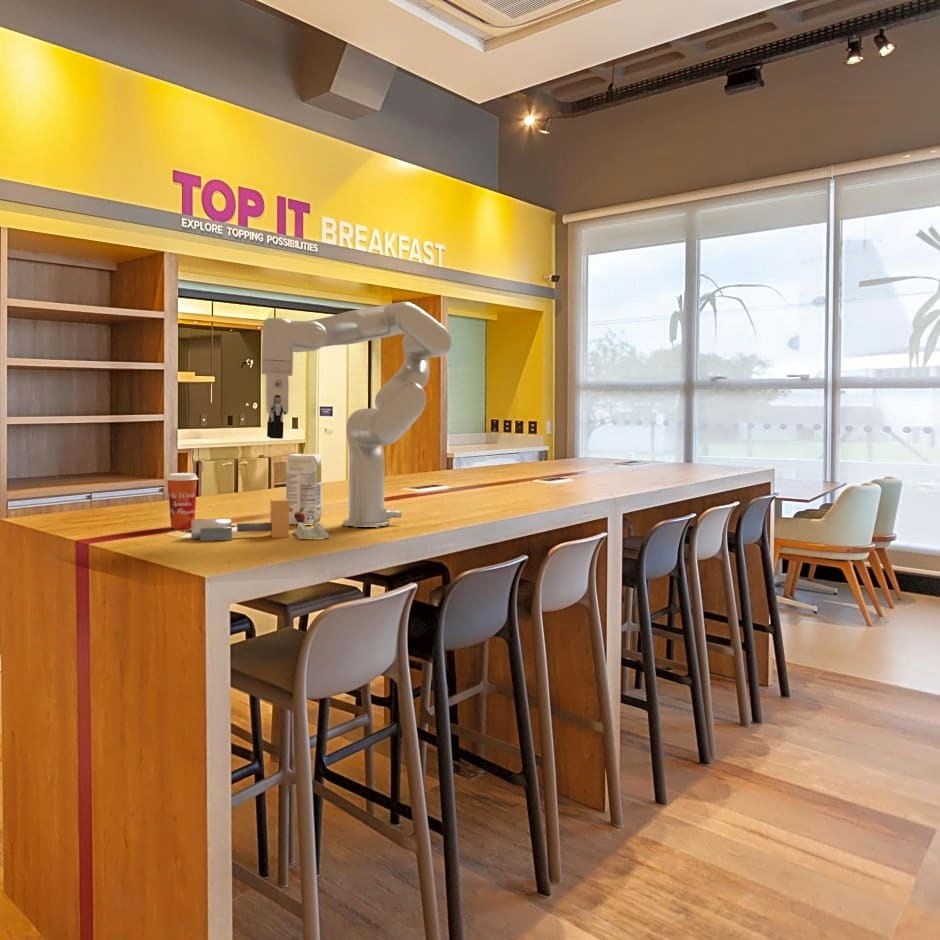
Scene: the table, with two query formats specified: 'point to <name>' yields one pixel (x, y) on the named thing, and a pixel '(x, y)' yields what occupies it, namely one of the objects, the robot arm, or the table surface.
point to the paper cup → (182, 499)
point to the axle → (207, 525)
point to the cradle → (310, 531)
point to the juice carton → (304, 488)
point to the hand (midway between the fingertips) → (274, 437)
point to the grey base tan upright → (272, 520)
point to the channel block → (216, 533)
